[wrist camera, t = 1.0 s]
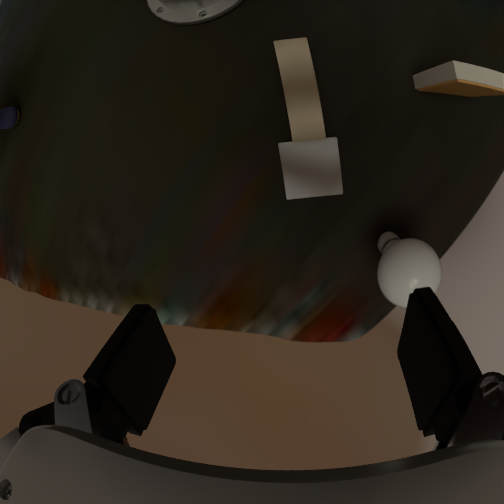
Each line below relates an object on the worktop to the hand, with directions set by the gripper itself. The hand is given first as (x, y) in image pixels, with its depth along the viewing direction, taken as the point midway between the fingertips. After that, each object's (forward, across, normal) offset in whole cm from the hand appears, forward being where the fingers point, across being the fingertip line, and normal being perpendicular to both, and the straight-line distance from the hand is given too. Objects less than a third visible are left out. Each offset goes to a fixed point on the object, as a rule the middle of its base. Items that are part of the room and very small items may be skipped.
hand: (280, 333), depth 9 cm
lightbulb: (+22, -11, +7) cm, 25 cm away
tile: (+22, -19, -12) cm, 31 cm away
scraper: (+22, -2, -7) cm, 23 cm away
